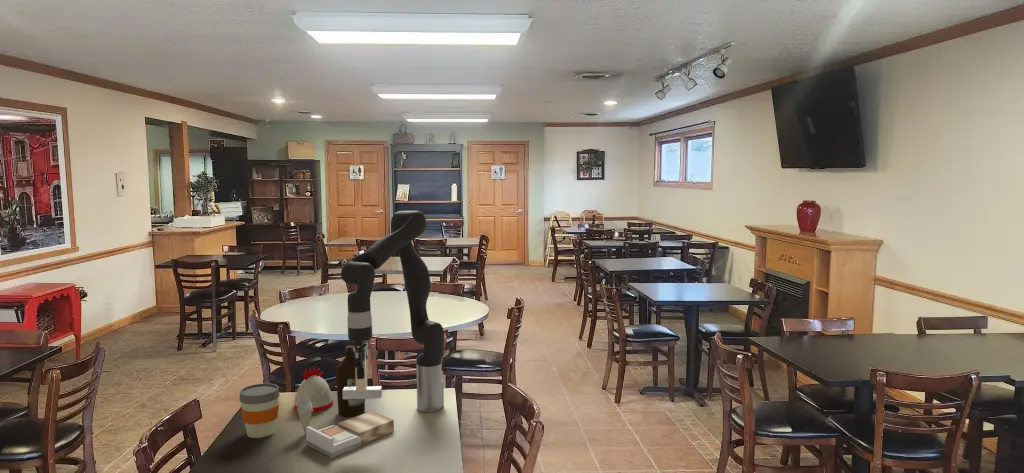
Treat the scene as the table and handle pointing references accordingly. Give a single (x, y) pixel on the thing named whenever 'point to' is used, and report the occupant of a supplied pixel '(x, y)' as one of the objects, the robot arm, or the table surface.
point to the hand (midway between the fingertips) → (361, 376)
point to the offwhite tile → (341, 437)
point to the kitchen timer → (314, 391)
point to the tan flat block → (368, 426)
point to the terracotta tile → (332, 431)
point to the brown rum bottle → (348, 379)
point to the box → (330, 442)
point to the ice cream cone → (305, 411)
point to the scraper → (362, 388)
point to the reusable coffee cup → (260, 409)
